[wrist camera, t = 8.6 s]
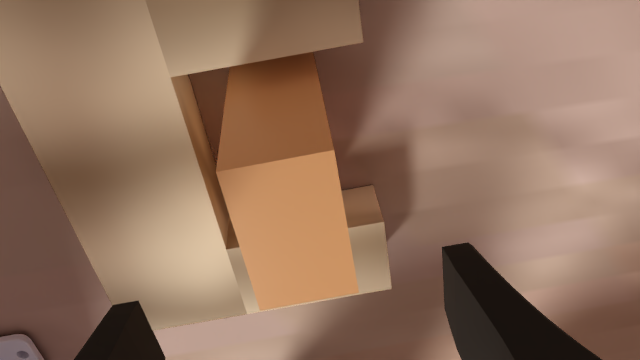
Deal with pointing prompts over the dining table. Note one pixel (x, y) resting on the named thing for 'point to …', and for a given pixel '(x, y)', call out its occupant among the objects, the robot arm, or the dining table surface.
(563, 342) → the robot arm
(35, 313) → the dining table surface
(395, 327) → the dining table surface
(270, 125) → the orange brown rectangular block
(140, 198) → the notched board
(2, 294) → the dining table surface
